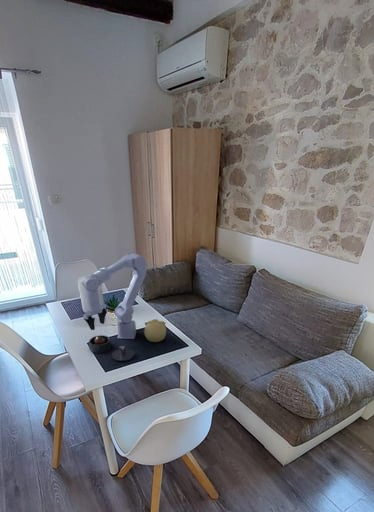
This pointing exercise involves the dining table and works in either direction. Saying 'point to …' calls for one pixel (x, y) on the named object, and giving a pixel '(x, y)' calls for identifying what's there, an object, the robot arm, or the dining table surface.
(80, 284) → the canister
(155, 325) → the sculpture
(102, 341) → the mushroom
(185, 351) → the dining table surface
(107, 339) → the pot
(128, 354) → the lid
